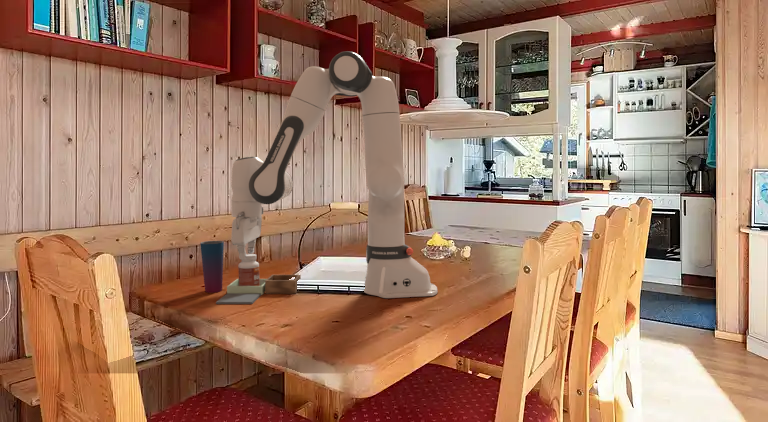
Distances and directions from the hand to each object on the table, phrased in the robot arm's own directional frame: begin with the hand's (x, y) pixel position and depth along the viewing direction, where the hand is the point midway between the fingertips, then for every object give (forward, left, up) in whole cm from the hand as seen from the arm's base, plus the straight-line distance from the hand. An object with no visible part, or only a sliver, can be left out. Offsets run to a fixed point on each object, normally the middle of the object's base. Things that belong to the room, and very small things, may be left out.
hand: (246, 255), depth 163 cm
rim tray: (-1, 0, -11) cm, 11 cm away
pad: (-1, +11, -11) cm, 15 cm away
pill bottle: (-1, 0, -11) cm, 11 cm away
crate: (-11, 0, -11) cm, 15 cm away
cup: (+10, 0, -11) cm, 15 cm away
